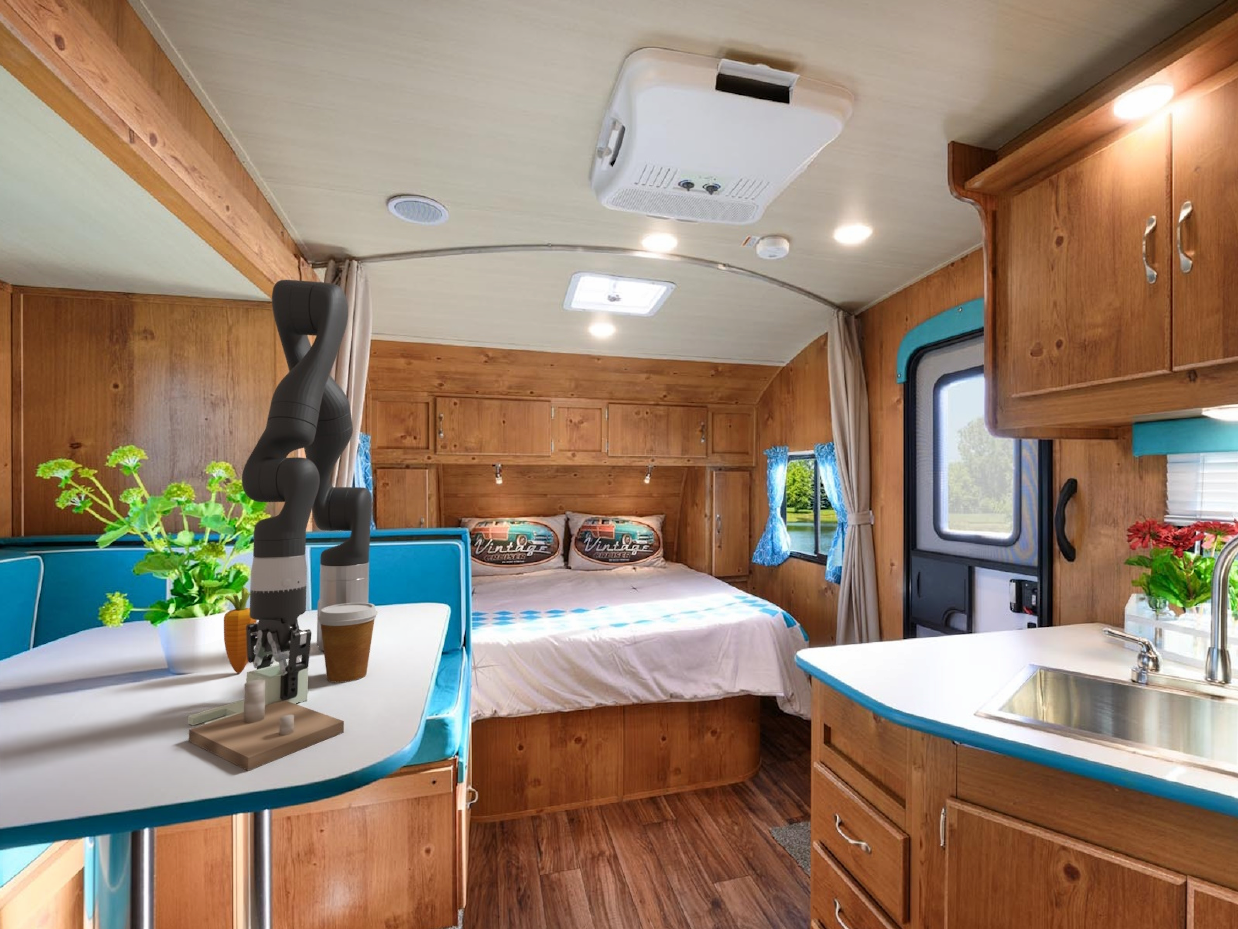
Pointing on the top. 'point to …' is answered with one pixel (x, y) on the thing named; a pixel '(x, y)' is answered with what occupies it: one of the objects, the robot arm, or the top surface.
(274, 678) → the hollow square block
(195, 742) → the post base
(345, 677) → the disposable coffee cup
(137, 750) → the top surface
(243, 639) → the carrot
